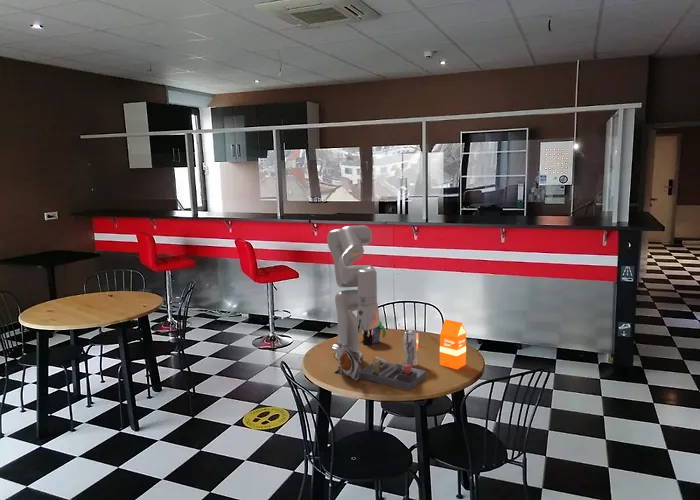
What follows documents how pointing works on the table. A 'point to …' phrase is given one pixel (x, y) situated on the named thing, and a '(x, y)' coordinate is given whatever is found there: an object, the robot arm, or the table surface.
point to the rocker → (381, 360)
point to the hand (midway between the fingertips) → (367, 344)
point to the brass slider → (376, 366)
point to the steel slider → (399, 366)
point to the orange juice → (453, 344)
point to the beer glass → (411, 346)
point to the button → (407, 369)
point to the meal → (348, 361)
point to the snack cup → (377, 333)
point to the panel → (393, 376)
